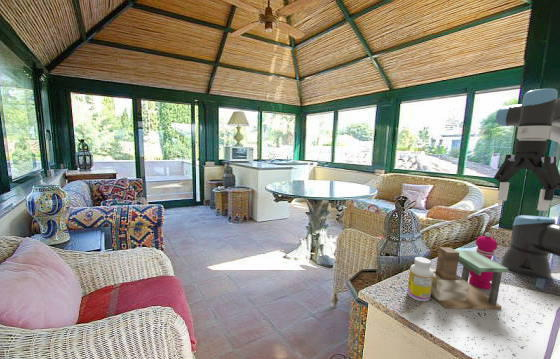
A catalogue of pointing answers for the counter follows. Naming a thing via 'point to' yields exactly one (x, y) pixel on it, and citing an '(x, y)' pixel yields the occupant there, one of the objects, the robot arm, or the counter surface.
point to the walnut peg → (447, 263)
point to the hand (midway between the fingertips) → (520, 205)
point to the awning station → (464, 293)
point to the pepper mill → (486, 249)
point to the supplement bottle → (420, 279)
